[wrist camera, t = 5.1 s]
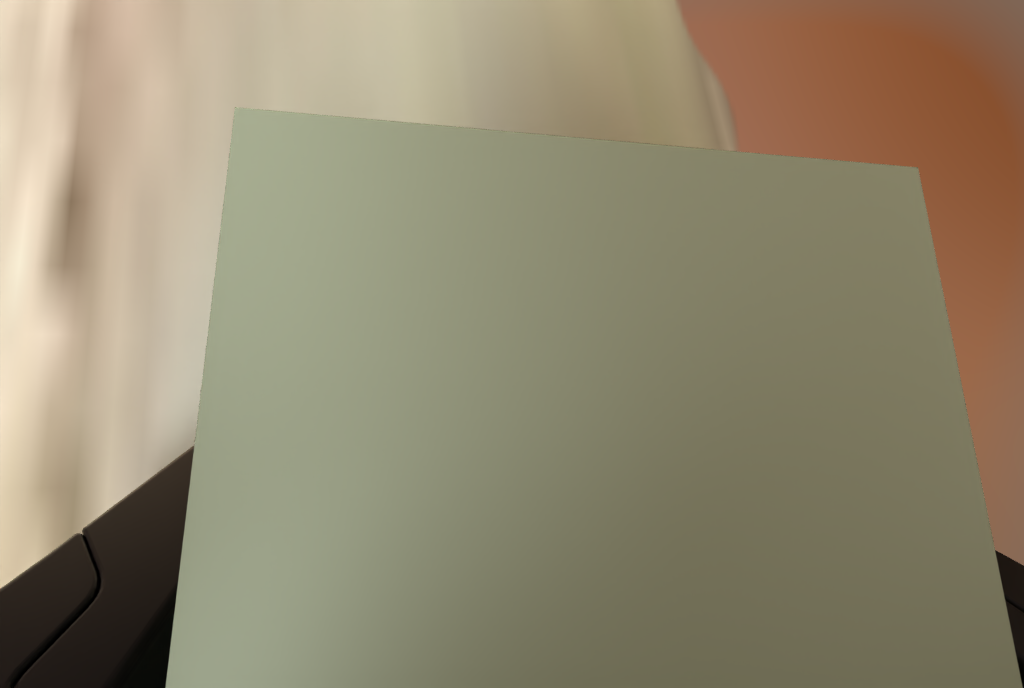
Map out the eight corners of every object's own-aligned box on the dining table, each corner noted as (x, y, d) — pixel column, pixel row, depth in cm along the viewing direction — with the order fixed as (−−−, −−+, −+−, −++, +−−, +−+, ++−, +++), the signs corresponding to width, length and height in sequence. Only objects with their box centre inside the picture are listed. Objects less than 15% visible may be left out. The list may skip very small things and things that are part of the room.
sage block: (587, 643, 13) (1076, 956, 4) (335, 654, 12) (115, 1092, 3) (578, 401, 14) (918, 168, 5) (349, 396, 14) (235, 107, 4)
